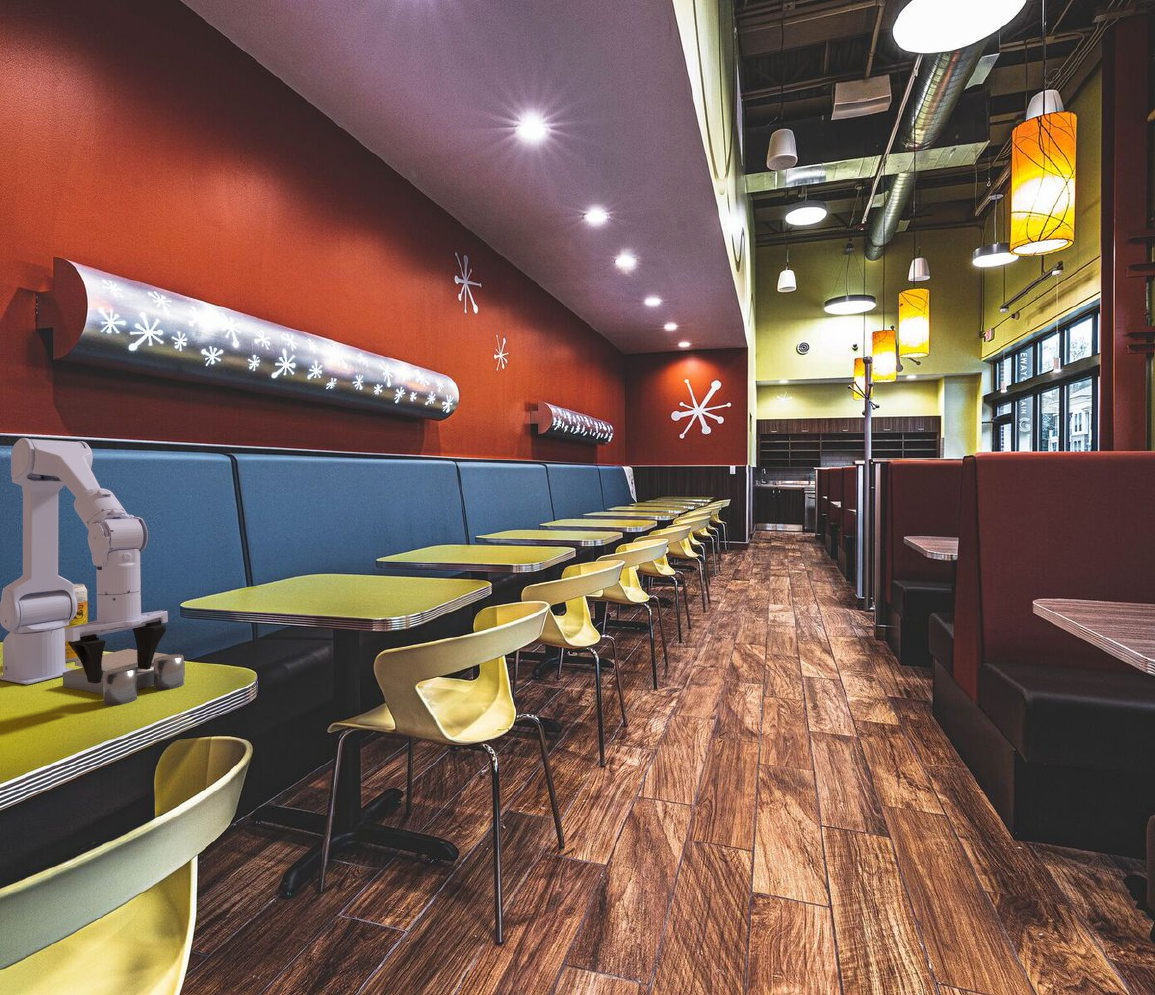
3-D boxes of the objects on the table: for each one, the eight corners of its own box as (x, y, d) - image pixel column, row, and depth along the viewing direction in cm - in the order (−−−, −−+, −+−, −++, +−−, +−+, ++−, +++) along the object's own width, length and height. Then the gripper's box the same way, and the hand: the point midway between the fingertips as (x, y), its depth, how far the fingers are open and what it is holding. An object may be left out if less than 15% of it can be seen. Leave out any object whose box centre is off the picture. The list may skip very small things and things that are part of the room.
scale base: (62, 686, 106) (62, 669, 106) (134, 667, 117) (134, 652, 117) (115, 696, 101) (114, 678, 101) (184, 675, 112) (184, 659, 112)
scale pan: (74, 665, 107) (74, 661, 107) (128, 653, 116) (128, 648, 116) (115, 672, 103) (115, 667, 103) (168, 658, 112) (168, 654, 112)
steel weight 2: (147, 688, 105) (147, 659, 105) (172, 681, 109) (172, 653, 109) (165, 691, 104) (164, 662, 103) (189, 683, 108) (189, 655, 108)
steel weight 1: (96, 703, 98) (96, 672, 98) (125, 695, 102) (125, 665, 102) (114, 707, 96) (114, 675, 96) (143, 698, 100) (142, 668, 100)
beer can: (65, 664, 119) (64, 588, 119) (40, 663, 121) (39, 587, 120) (95, 656, 125) (94, 584, 125) (71, 654, 127) (70, 583, 126)
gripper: (84, 601, 90) (86, 691, 91) (179, 586, 104) (180, 665, 104) (55, 598, 93) (57, 686, 93) (151, 584, 107) (152, 661, 107)
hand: (120, 675), depth 99 cm, fingers open, 7 cm apart
